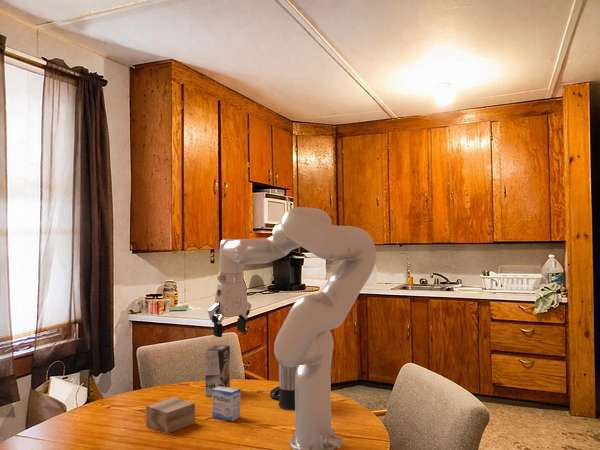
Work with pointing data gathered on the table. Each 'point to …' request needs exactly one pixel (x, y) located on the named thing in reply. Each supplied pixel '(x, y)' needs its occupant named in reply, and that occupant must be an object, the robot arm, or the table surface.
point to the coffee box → (217, 368)
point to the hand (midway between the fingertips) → (229, 334)
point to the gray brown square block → (170, 414)
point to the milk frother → (285, 388)
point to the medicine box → (226, 403)
